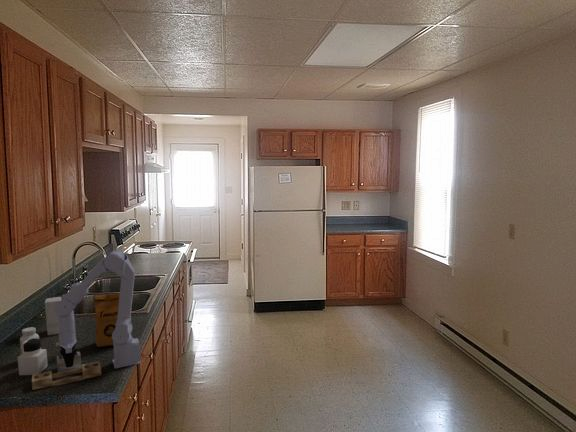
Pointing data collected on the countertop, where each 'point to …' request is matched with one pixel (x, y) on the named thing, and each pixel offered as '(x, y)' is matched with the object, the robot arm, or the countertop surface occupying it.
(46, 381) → the wooden frame
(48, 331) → the skincare box
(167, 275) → the countertop surface
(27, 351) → the medicine bottle
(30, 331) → the supplement bottle
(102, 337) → the coffee package
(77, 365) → the white box with knobs
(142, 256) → the countertop surface
